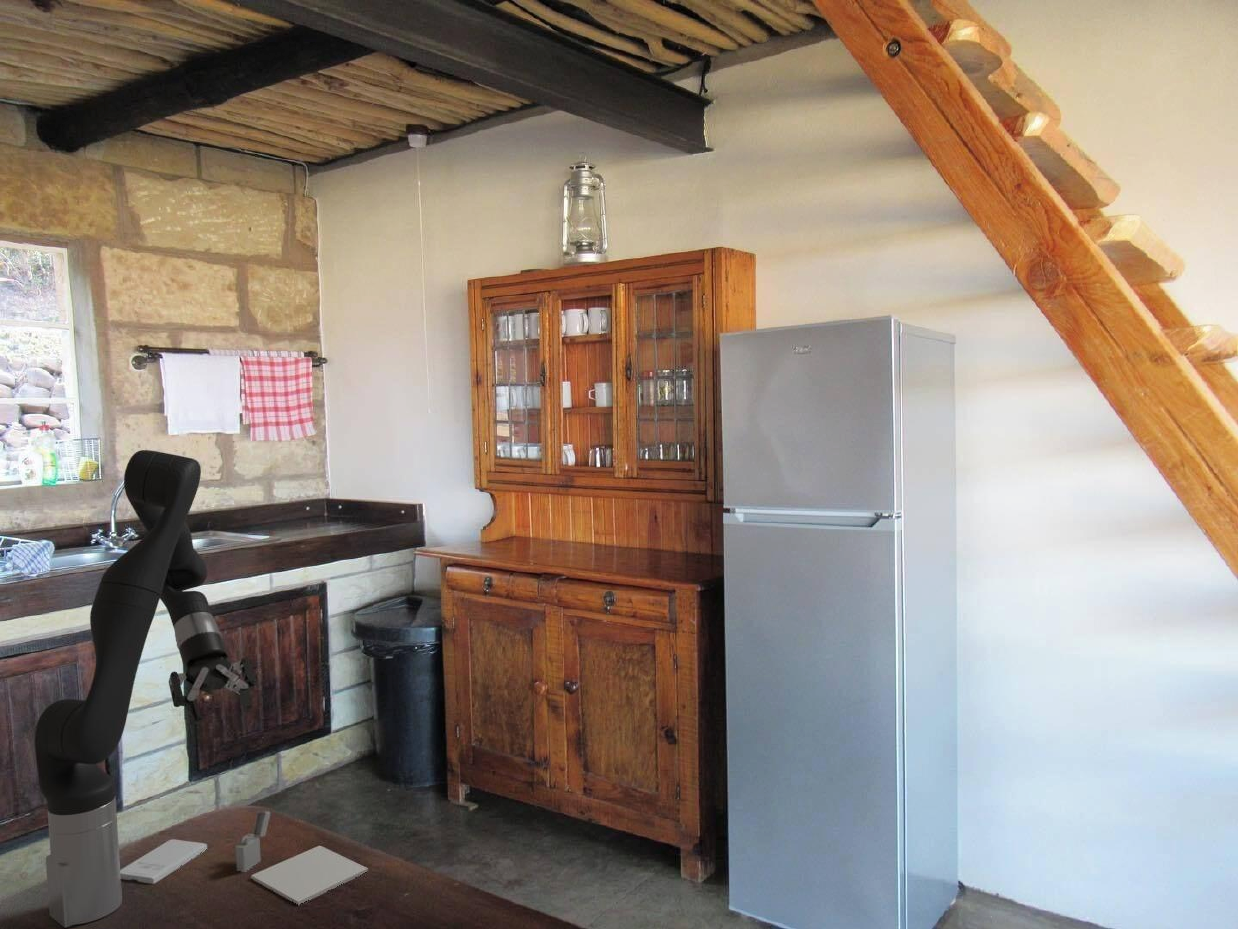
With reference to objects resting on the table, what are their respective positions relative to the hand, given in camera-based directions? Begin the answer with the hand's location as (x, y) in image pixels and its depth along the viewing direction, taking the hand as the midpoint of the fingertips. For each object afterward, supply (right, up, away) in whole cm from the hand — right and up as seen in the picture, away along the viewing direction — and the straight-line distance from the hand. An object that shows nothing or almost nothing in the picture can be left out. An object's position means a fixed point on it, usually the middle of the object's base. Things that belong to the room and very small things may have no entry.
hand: (223, 716), depth 168 cm
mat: (+20, -23, -12) cm, 33 cm away
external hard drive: (-8, -24, -7) cm, 27 cm away
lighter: (+8, -23, -7) cm, 26 cm away
